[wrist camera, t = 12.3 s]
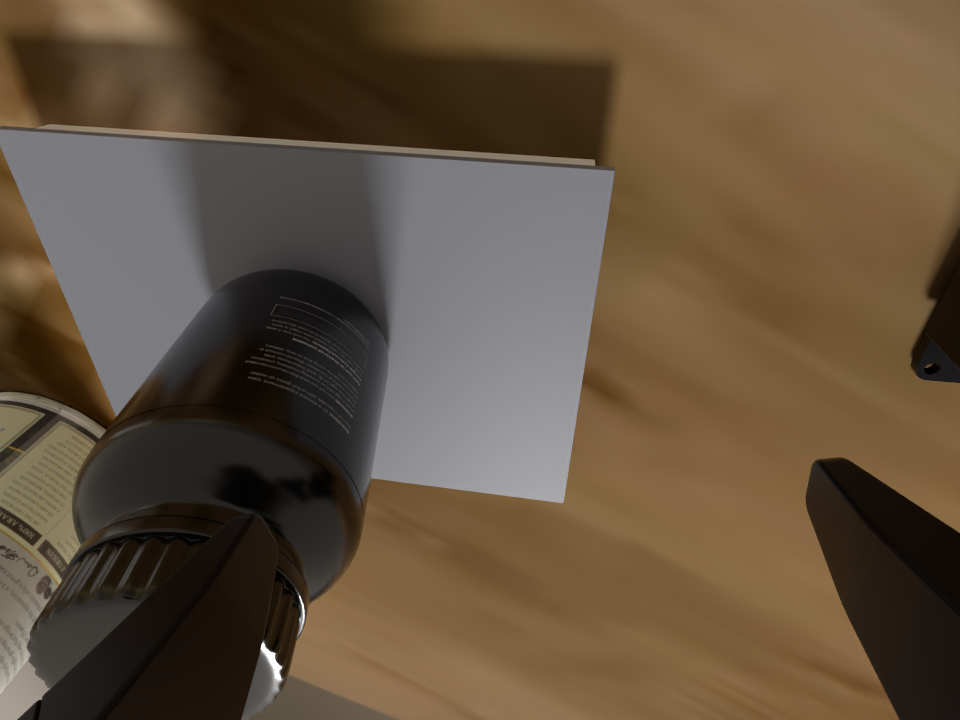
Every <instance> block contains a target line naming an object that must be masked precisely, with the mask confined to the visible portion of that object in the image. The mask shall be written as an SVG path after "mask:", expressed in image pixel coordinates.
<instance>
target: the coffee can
mask: <svg viewBox="0 0 960 720" xmlns="http://www.w3.org/2000/svg"><path fill="white" fill-rule="evenodd" d="M105 431H106V429H105V428H103V427H102V426H100V425H99V424H97V423H96V422H95V421H93V420H92V419H90V418H88V417H87V416H85V415H84V414H82V413H81V412H79V411H77V410H75V409H72V408H70V407H68V406H66V405H64V404H62V403H59V402H57V401H54V400H51V399H48V398H45V397H42V396H39V395H32V394H26V393H19V392H0V694H1V693H2V692H3V690H4V689H5V688H6V686H7V685H8V684H9V683H10V681H11V680H12V679H13V678H14V676H15V675H16V674H17V673H18V671H19V670H20V669H21V668H22V666H23V665H24V664H25V663H26V661H27V660H28V659H29V657H30V653H29V652H28V650H27V648H26V647H27V644H28V641H29V639H30V635H29V634H30V631H31V628H32V626H33V624H34V622H35V621H36V619H37V618H38V616H39V615H40V613H41V612H42V610H43V608H44V607H45V605H46V604H47V602H48V601H49V599H50V598H51V596H52V595H53V593H54V592H55V590H56V589H57V587H58V586H59V584H60V583H61V580H62V576H63V573H64V571H65V569H66V567H67V565H68V564H69V562H70V561H71V559H72V558H73V556H74V555H75V553H76V552H77V550H78V549H79V547H80V546H81V545H80V543H79V541H78V538H77V535H76V532H75V528H74V523H73V517H72V495H73V489H74V483H75V480H76V477H77V474H78V472H79V469H80V467H81V466H82V464H83V462H84V460H85V459H86V457H87V456H88V454H89V453H90V451H91V450H92V448H93V447H94V445H95V444H96V443H97V441H98V440H99V439H100V437H101V436H102V435H103V433H104V432H105Z"/></svg>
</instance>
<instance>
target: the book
mask: <svg viewBox="0 0 960 720" xmlns="http://www.w3.org/2000/svg"><path fill="white" fill-rule="evenodd" d="M0 146H1V149H2V151H3V153H4V156H5V158H6V160H7V163H8V165H9V167H10V170H11V172H12V174H13V177H14V179H15V181H16V184H17V186H18V188H19V191H20V193H21V195H22V198H23V200H24V202H25V205H26V207H27V209H28V212H29V214H30V216H31V219H32V221H33V223H34V226H35V228H36V230H37V233H38V235H39V237H40V240H41V242H42V244H43V247H44V249H45V251H46V254H47V256H48V258H49V261H50V263H51V265H52V268H53V270H54V272H55V275H56V277H57V279H58V282H59V284H60V286H61V289H62V291H63V293H64V296H65V298H66V300H67V303H68V305H69V307H70V310H71V312H72V314H73V317H74V319H75V321H76V324H77V326H78V328H79V331H80V333H81V335H82V338H83V340H84V342H85V345H86V347H87V349H88V352H89V354H90V356H91V359H92V361H93V363H94V366H95V368H96V370H97V373H98V375H99V377H100V380H101V382H102V384H103V387H104V389H105V391H106V394H107V396H108V398H109V401H110V403H111V405H112V408H113V410H114V412H115V415H116V417H117V415H118V414H119V413H120V412H121V410H122V409H123V408H124V406H125V405H126V404H127V403H128V401H129V400H130V399H131V397H132V396H133V395H134V394H135V392H136V391H137V390H138V388H139V387H140V386H141V385H142V383H143V382H144V381H145V379H146V378H147V377H148V376H149V374H150V373H151V372H152V370H153V369H154V368H155V367H156V365H157V364H158V363H159V362H160V360H161V359H162V358H163V356H164V355H165V354H166V353H167V351H168V350H169V349H170V347H171V346H172V345H173V344H174V342H175V341H176V340H177V338H178V337H179V336H180V335H181V333H182V332H183V331H184V329H185V328H186V327H187V326H188V324H189V323H190V322H191V320H192V319H193V318H194V317H195V315H196V314H197V313H198V311H199V310H200V309H201V308H202V307H203V306H204V304H205V303H206V302H207V301H208V300H209V299H210V298H211V297H212V295H213V294H214V293H216V292H217V291H218V290H219V289H220V288H222V287H223V286H224V285H226V284H227V283H229V282H230V281H232V280H234V279H236V278H238V277H241V276H244V275H246V274H249V273H253V272H257V271H262V270H269V269H291V270H298V271H303V272H308V273H312V274H315V275H318V276H321V277H323V278H326V279H328V280H330V281H332V282H334V283H336V284H338V285H340V286H342V287H343V288H345V289H346V290H348V291H349V292H350V293H352V294H353V295H354V296H356V297H357V298H358V299H359V300H360V301H361V302H362V303H363V304H364V305H365V306H366V307H367V308H368V309H369V311H370V312H371V313H372V314H373V316H374V317H375V319H376V321H377V322H378V324H379V326H380V328H381V330H382V333H383V335H384V338H385V341H386V345H387V350H388V376H387V383H386V389H385V395H384V401H383V407H382V414H381V420H380V426H379V432H378V438H377V444H376V450H375V456H374V462H373V469H372V475H371V478H374V479H382V480H389V481H397V482H405V483H412V484H420V485H428V486H435V487H443V488H451V489H459V490H466V491H474V492H482V493H489V494H497V495H505V496H513V497H520V498H528V499H536V500H543V501H551V502H559V503H563V502H564V496H565V489H566V483H567V476H568V470H569V463H570V457H571V451H572V444H573V438H574V431H575V425H576V418H577V412H578V405H579V399H580V393H581V386H582V380H583V373H584V367H585V360H586V354H587V347H588V341H589V335H590V328H591V322H592V315H593V309H594V302H595V296H596V290H597V283H598V277H599V270H600V264H601V257H602V251H603V244H604V238H605V232H606V225H607V219H608V212H609V206H610V199H611V193H612V186H613V180H614V174H615V168H614V167H606V166H595V160H592V159H576V158H561V157H546V156H530V155H515V154H500V153H484V152H469V151H454V150H438V149H423V148H408V147H392V146H377V145H362V144H347V143H331V142H316V141H301V140H285V139H270V138H255V137H239V136H224V135H209V134H193V133H178V132H163V131H148V130H132V129H117V128H102V127H86V126H71V125H56V124H48V125H45V126H41V127H38V128H23V127H8V126H2V127H0Z"/></svg>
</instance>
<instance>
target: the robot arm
mask: <svg viewBox="0 0 960 720" xmlns="http://www.w3.org/2000/svg"><path fill="white" fill-rule="evenodd" d="M930 363H934V364H933V365H932V366H930V367H928V368H925V367H926V366H927V365H928V364H930ZM911 368H912V370H913V371H914V373H915V374H916V375H917V376H918V377H919V378H921V379H924V380H932V381H943V382H955V383H960V266H959V267H958V268H957V270H956V272H955V274H954V276H953V278H952V280H951V282H950V283H949V285H948V287H947V289H946V291H945V293H944V295H943V297H942V299H941V301H940V303H939V305H938V307H937V309H936V311H935V313H934V315H933V316H932V318H931V320H930V322H929V324H928V326H927V328H926V334H925V336H924V338H923V340H922V342H921V344H920V346H919V348H918V350H917V352H916V354H915V356H914V358H913V360H912V362H911ZM806 506H807V511H808V514H809V516H810V519H811V522H812V524H813V527H814V530H815V533H816V535H817V538H818V541H819V543H820V546H821V549H822V552H823V554H824V557H825V560H826V562H827V565H828V568H829V571H830V573H831V576H832V579H833V581H834V584H835V587H836V590H837V592H838V595H839V597H840V600H841V602H842V605H843V607H844V609H845V611H846V613H847V616H848V618H849V620H850V622H851V624H852V626H853V628H854V630H855V632H856V634H857V636H858V638H859V640H860V642H861V644H862V646H863V648H864V650H865V652H866V654H867V656H868V658H869V660H870V662H871V664H872V666H873V668H874V670H875V672H876V674H877V676H878V678H879V680H880V682H881V684H882V686H883V688H884V690H885V692H886V694H887V696H888V698H889V700H890V702H891V704H892V706H893V708H894V710H895V712H896V714H897V716H898V718H899V720H960V533H959V532H957V531H956V530H954V529H953V528H951V527H949V526H948V525H946V524H945V523H943V522H942V521H940V520H939V519H937V518H936V517H934V516H933V515H931V514H930V513H928V512H927V511H925V510H924V509H922V508H921V507H919V506H918V505H916V504H915V503H913V502H912V501H910V500H909V499H907V498H906V497H904V496H902V495H901V494H899V493H898V492H896V491H895V490H893V489H892V488H890V487H889V486H887V485H886V484H884V483H883V482H881V481H880V480H878V479H877V478H875V477H874V476H872V475H871V474H869V473H868V472H866V471H865V470H863V469H862V468H860V467H859V466H857V465H855V464H854V463H852V462H851V461H849V460H847V459H845V458H840V457H839V458H828V459H818V460H816V461H815V462H814V463H813V464H812V467H811V472H810V477H809V482H808V487H807V492H806ZM277 561H278V545H277V542H276V540H275V539H274V537H273V535H272V533H271V532H270V530H269V528H268V527H267V525H266V523H265V521H264V520H263V518H262V517H261V516H260V515H258V514H255V513H253V514H243V515H237V516H234V517H232V518H231V519H230V520H229V521H228V522H227V523H226V524H225V525H223V526H222V527H221V528H220V529H219V530H218V531H217V532H216V533H215V534H214V535H213V536H212V537H211V538H210V539H209V540H208V541H207V542H205V543H204V544H203V545H202V546H201V547H200V548H199V549H198V550H197V551H196V552H195V553H194V554H193V555H192V556H191V557H190V558H188V559H187V560H186V561H185V562H184V563H183V564H182V565H181V566H180V567H179V568H178V569H177V570H176V571H175V572H174V573H173V574H172V575H170V576H169V577H168V578H167V579H166V580H165V581H164V582H163V583H162V584H161V585H160V586H159V587H158V588H157V589H156V590H155V591H153V592H152V593H151V594H150V595H149V596H148V597H147V598H146V599H145V600H144V601H143V602H142V603H141V604H140V605H139V606H138V607H137V608H135V609H134V610H133V611H132V612H131V613H130V614H129V615H128V616H127V617H126V618H125V619H124V620H123V621H122V622H121V623H120V624H119V625H117V626H116V627H115V628H114V629H113V630H112V631H111V632H110V633H109V634H108V635H107V636H106V637H105V638H104V639H103V640H102V641H100V642H99V643H98V644H97V645H96V646H95V647H94V648H93V649H92V650H91V651H90V652H89V653H88V654H87V655H86V656H85V657H84V658H82V659H81V660H80V661H79V662H78V663H77V664H76V665H75V666H74V667H73V668H72V669H71V670H70V671H69V672H68V673H67V674H65V675H64V676H63V677H62V678H61V679H60V680H59V681H58V682H57V683H56V684H55V685H54V686H53V687H52V688H51V689H50V690H48V692H46V693H45V694H44V696H43V697H42V700H38V701H37V702H36V703H35V704H33V705H32V706H31V707H30V708H29V709H28V710H27V711H26V712H25V713H24V714H23V715H22V716H21V717H20V718H19V719H18V720H241V719H242V715H243V712H244V708H245V705H246V701H247V698H248V694H249V691H250V687H251V684H252V680H253V677H254V673H255V670H256V666H257V662H258V659H259V655H260V651H261V647H262V644H263V639H264V634H265V629H266V624H267V618H268V612H269V607H270V601H271V595H272V590H273V584H274V578H275V572H276V567H277Z"/></svg>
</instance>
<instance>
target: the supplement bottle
mask: <svg viewBox="0 0 960 720" xmlns="http://www.w3.org/2000/svg"><path fill="white" fill-rule="evenodd" d="M387 376H388V350H387V345H386V341H385V338H384V335H383V333H382V330H381V328H380V326H379V324H378V322H377V321H376V319H375V317H374V316H373V314H372V313H371V312H370V311H369V309H368V308H367V307H366V306H365V305H364V304H363V303H362V302H361V301H360V300H359V299H358V298H357V297H356V296H354V295H353V294H352V293H350V292H349V291H348V290H346V289H345V288H343V287H342V286H340V285H338V284H336V283H334V282H332V281H330V280H328V279H326V278H323V277H321V276H318V275H315V274H312V273H308V272H303V271H298V270H291V269H269V270H262V271H257V272H253V273H249V274H246V275H244V276H241V277H238V278H236V279H234V280H232V281H230V282H229V283H227V284H226V285H224V286H223V287H222V288H220V289H219V290H218V291H217V292H216V293H214V294H213V295H212V297H211V298H210V299H209V300H208V301H207V302H206V303H205V304H204V306H203V307H202V308H201V309H200V310H199V311H198V313H197V314H196V315H195V317H194V318H193V319H192V320H191V322H190V323H189V324H188V326H187V327H186V328H185V329H184V331H183V332H182V333H181V335H180V336H179V337H178V338H177V340H176V341H175V342H174V344H173V345H172V346H171V347H170V349H169V350H168V351H167V353H166V354H165V355H164V356H163V358H162V359H161V360H160V362H159V363H158V364H157V365H156V367H155V368H154V369H153V370H152V372H151V373H150V374H149V376H148V377H147V378H146V379H145V381H144V382H143V383H142V385H141V386H140V387H139V388H138V390H137V391H136V392H135V394H134V395H133V396H132V397H131V399H130V400H129V401H128V403H127V404H126V405H125V406H124V408H123V409H122V410H121V412H120V413H119V414H118V415H117V417H116V418H115V419H114V421H113V422H112V423H111V424H110V426H109V427H108V428H107V430H106V431H105V432H104V433H103V435H102V436H101V437H100V439H99V440H98V441H97V443H96V444H95V445H94V447H93V448H92V450H91V451H90V453H89V454H88V456H87V457H86V459H85V460H84V462H83V464H82V466H81V467H80V469H79V472H78V474H77V477H76V480H75V483H74V489H73V495H72V517H73V523H74V528H75V532H76V535H77V538H78V541H79V543H80V545H81V546H80V547H79V549H78V550H77V552H76V553H75V555H74V556H73V558H72V559H71V561H70V562H69V564H68V565H67V567H66V569H65V571H64V573H63V576H62V580H61V583H60V584H59V586H58V587H57V589H56V590H55V592H54V593H53V595H52V596H51V598H50V599H49V601H48V602H47V604H46V605H45V607H44V608H43V610H42V612H41V613H40V615H39V616H38V618H37V619H36V621H35V622H34V624H33V626H32V628H31V631H30V634H29V635H30V639H29V641H28V644H27V647H26V648H27V650H28V652H29V653H30V657H29V662H30V663H31V664H32V666H33V667H34V668H35V674H36V675H37V676H38V677H39V678H41V679H42V680H44V681H45V684H46V686H47V687H48V688H50V689H51V688H52V687H53V686H54V685H55V684H56V683H57V682H58V681H59V680H60V679H61V678H62V677H63V676H64V675H65V674H67V673H68V672H69V671H70V670H71V669H72V668H73V667H74V666H75V665H76V664H77V663H78V662H79V661H80V660H81V659H82V658H84V657H85V656H86V655H87V654H88V653H89V652H90V651H91V650H92V649H93V648H94V647H95V646H96V645H97V644H98V643H99V642H100V641H102V640H103V639H104V638H105V637H106V636H107V635H108V634H109V633H110V632H111V631H112V630H113V629H114V628H115V627H116V626H117V625H119V624H120V623H121V622H122V621H123V620H124V619H125V618H126V617H127V616H128V615H129V614H130V613H131V612H132V611H133V610H134V609H135V608H137V607H138V606H139V605H140V604H141V603H142V602H143V601H144V600H145V599H146V598H147V597H148V596H149V595H150V594H151V593H152V592H153V591H155V590H156V589H157V588H158V587H159V586H160V585H161V584H162V583H163V582H164V581H165V580H166V579H167V578H168V577H169V576H170V575H172V574H173V573H174V572H175V571H176V570H177V569H178V568H179V567H180V566H181V565H182V564H183V563H184V562H185V561H186V560H187V559H188V558H190V557H191V556H192V555H193V554H194V553H195V552H196V551H197V550H198V549H199V548H200V547H201V546H202V545H203V544H204V543H205V542H207V541H208V540H209V539H210V538H211V537H212V536H213V535H214V534H215V533H216V532H217V531H218V530H219V529H220V528H221V527H222V526H223V525H225V524H226V523H227V522H228V521H229V520H230V519H231V518H232V517H234V516H237V515H243V514H253V513H255V514H258V515H260V516H261V517H262V518H263V520H264V521H265V523H266V525H267V527H268V528H269V530H270V532H271V533H272V535H273V537H274V539H275V540H276V542H277V545H278V561H277V567H276V572H275V578H274V584H273V590H272V595H271V601H270V607H269V612H268V618H267V624H266V629H265V634H264V639H263V644H262V647H261V651H260V655H259V659H258V662H257V666H256V670H255V673H254V677H253V680H252V684H251V687H250V691H249V694H248V698H247V701H246V705H245V708H244V712H243V715H242V719H241V720H246V719H250V718H251V717H252V716H253V715H254V714H256V713H260V712H263V711H264V710H265V708H266V706H267V705H269V704H271V703H273V702H275V700H276V698H277V696H278V694H279V693H280V692H281V691H282V690H283V688H284V686H285V683H286V680H287V676H288V672H289V669H290V665H291V661H292V657H293V653H294V648H295V644H296V640H297V639H298V638H299V636H300V635H301V633H302V631H303V628H304V625H305V622H306V617H307V611H308V606H309V604H311V603H312V602H314V601H315V600H317V599H318V598H320V597H321V596H322V595H323V594H325V593H326V592H327V591H328V590H329V589H330V588H331V587H332V586H333V585H334V584H335V583H336V582H337V581H338V580H339V579H340V578H341V577H342V575H343V574H344V573H345V571H346V570H347V569H348V567H349V566H350V564H351V562H352V560H353V559H354V557H355V554H356V552H357V549H358V546H359V542H360V538H361V534H362V529H363V523H364V517H365V511H366V505H367V499H368V493H369V487H370V481H371V475H372V469H373V462H374V456H375V450H376V444H377V438H378V432H379V426H380V420H381V414H382V407H383V401H384V395H385V389H386V383H387Z"/></svg>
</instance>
